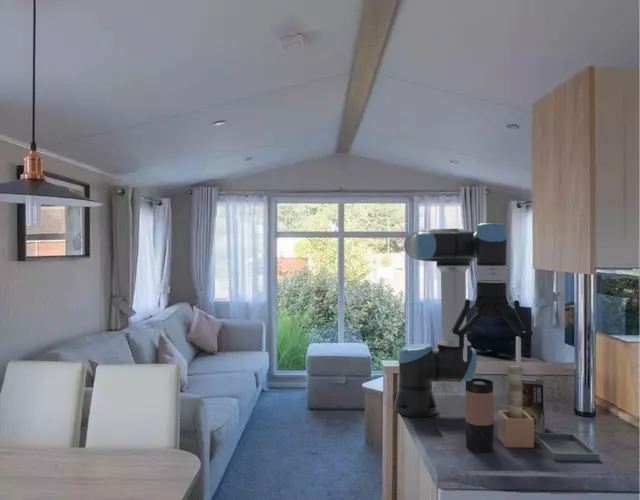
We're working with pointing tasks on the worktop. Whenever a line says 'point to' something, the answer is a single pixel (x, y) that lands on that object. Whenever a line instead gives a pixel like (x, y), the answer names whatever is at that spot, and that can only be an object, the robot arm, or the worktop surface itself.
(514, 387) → the dowel
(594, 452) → the tray
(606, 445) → the worktop surface
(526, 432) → the pot
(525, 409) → the coffee box
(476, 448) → the travel mug
